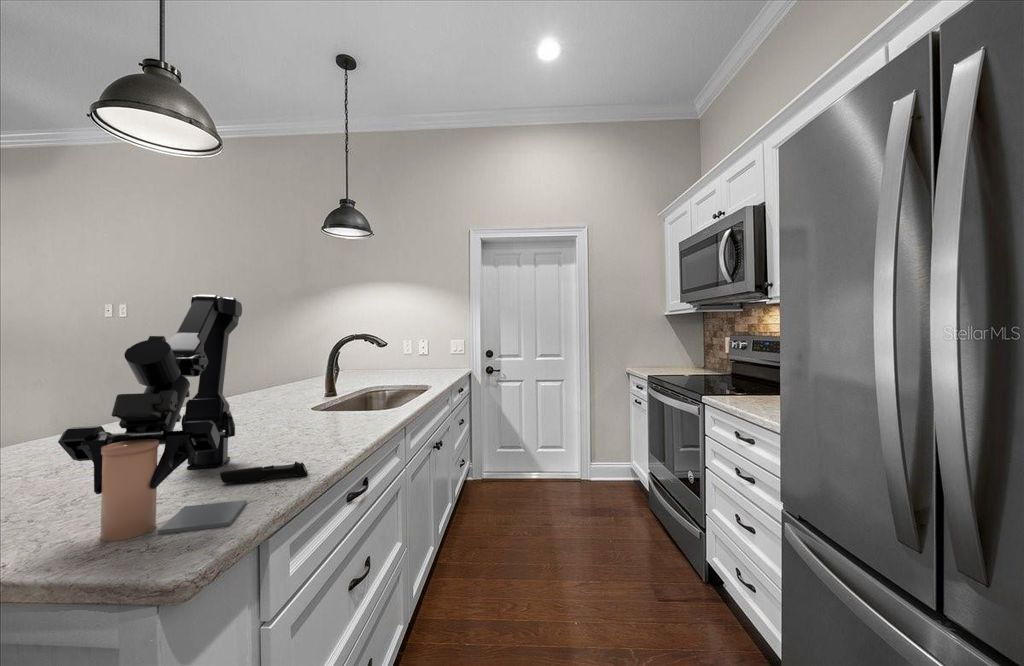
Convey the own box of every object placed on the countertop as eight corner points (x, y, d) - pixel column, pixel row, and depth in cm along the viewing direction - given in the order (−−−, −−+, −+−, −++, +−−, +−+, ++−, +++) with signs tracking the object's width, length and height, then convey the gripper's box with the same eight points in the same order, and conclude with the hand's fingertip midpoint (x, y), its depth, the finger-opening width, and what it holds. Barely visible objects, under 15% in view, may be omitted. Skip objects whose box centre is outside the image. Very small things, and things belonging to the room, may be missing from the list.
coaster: (246, 503, 70) (246, 499, 71) (229, 525, 62) (229, 521, 62) (184, 509, 68) (184, 506, 68) (157, 534, 59) (157, 530, 59)
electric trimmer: (221, 483, 81) (221, 468, 81) (307, 472, 88) (307, 458, 88) (217, 490, 78) (217, 473, 78) (306, 478, 84) (306, 463, 84)
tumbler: (165, 519, 64) (166, 437, 64) (144, 538, 58) (146, 448, 58) (114, 524, 62) (116, 440, 62) (87, 545, 56) (90, 451, 56)
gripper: (68, 374, 61) (6, 470, 50) (216, 372, 67) (188, 456, 57) (98, 417, 68) (49, 508, 57) (229, 411, 75) (206, 491, 64)
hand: (125, 490), depth 59 cm, fingers closed on tumbler, 6 cm apart
